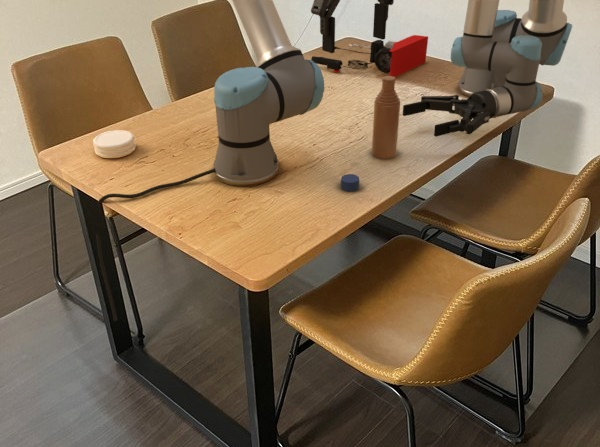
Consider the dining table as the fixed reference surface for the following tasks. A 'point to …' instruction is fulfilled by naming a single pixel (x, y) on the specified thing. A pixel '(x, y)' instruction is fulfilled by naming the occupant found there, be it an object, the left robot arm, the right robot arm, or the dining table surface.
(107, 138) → the coaster
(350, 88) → the dining table surface
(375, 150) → the bottle
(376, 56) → the electric hoist
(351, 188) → the cap
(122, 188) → the dining table surface
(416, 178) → the dining table surface
